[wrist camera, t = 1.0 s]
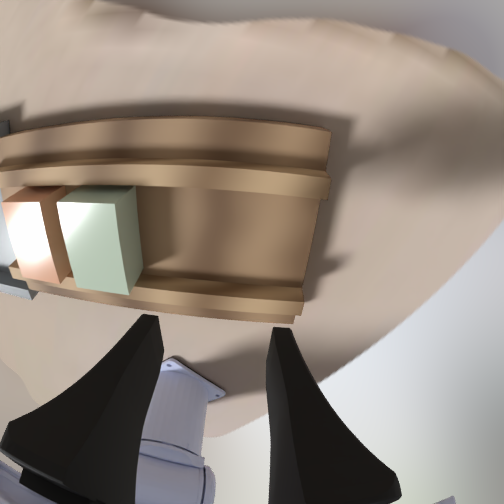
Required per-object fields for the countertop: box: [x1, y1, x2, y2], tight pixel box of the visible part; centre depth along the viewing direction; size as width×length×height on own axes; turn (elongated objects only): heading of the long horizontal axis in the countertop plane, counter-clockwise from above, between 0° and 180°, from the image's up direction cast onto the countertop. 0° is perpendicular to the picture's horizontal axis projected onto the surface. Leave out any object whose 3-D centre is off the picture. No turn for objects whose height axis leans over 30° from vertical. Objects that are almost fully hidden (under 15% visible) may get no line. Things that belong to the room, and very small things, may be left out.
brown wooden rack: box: [0, 116, 332, 324], centre depth 18 cm, size 24×14×4 cm, turn 85°
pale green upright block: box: [57, 185, 144, 295], centre depth 16 cm, size 4×6×3 cm, turn 175°
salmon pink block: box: [1, 185, 72, 284], centre depth 16 cm, size 4×6×3 cm, turn 175°
